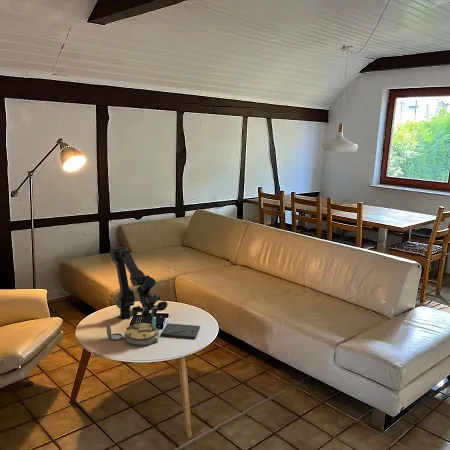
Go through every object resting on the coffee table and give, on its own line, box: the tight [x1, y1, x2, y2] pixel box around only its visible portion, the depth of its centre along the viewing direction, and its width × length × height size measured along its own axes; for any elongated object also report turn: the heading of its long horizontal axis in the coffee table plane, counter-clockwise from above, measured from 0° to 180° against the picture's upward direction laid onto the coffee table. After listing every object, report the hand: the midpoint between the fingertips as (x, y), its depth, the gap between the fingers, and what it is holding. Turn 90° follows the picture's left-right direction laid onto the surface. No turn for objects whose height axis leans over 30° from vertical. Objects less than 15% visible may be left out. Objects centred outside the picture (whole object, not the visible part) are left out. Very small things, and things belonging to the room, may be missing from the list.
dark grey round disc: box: [123, 330, 160, 347], centre depth 226 cm, size 17×18×3 cm
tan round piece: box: [125, 316, 158, 341], centre depth 225 cm, size 15×15×10 cm
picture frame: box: [160, 323, 201, 340], centre depth 234 cm, size 13×2×18 cm
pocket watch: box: [106, 320, 124, 341], centre depth 225 cm, size 8×8×10 cm
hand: (154, 324), depth 225 cm, fingers closed
